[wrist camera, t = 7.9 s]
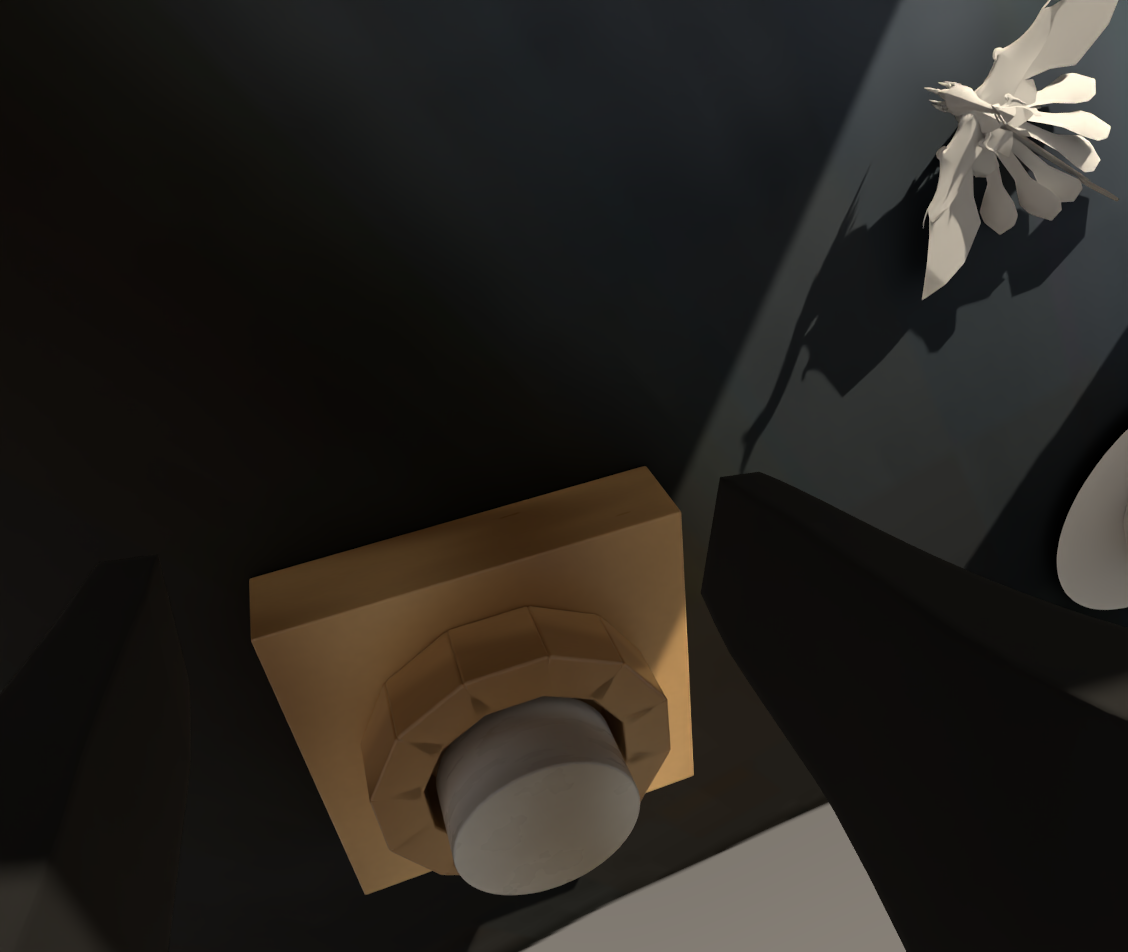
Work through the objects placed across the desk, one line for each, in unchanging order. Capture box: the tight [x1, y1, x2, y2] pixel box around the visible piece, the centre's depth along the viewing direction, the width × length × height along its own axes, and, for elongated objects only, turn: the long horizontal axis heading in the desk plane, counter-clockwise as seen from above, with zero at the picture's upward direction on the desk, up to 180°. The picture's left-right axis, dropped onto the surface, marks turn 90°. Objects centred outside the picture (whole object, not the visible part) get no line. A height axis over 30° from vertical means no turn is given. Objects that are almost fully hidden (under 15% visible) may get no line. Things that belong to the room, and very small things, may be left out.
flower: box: [922, 0, 1119, 300], centre depth 20 cm, size 8×8×3 cm
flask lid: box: [436, 696, 640, 895], centre depth 20 cm, size 4×4×2 cm
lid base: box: [249, 466, 694, 895], centre depth 22 cm, size 10×10×4 cm
